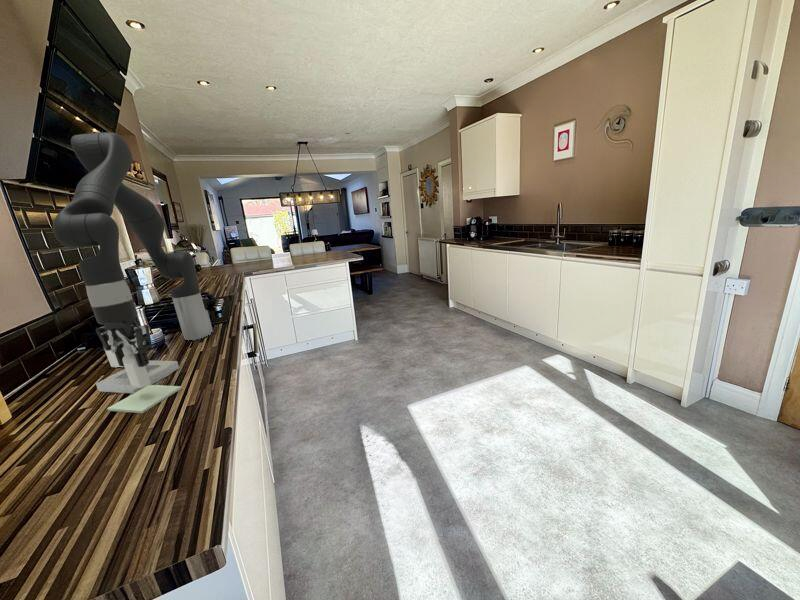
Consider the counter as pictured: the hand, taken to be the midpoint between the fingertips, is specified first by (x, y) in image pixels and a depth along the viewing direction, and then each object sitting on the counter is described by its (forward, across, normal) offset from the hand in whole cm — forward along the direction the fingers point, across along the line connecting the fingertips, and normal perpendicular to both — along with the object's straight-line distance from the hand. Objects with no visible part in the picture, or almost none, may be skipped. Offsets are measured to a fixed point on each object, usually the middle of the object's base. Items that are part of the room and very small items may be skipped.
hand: (134, 364), depth 81 cm
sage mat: (+10, 0, 0) cm, 10 cm away
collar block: (+10, +13, -9) cm, 18 cm away
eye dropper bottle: (+6, 0, 0) cm, 6 cm away
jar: (+10, +31, -19) cm, 38 cm away
